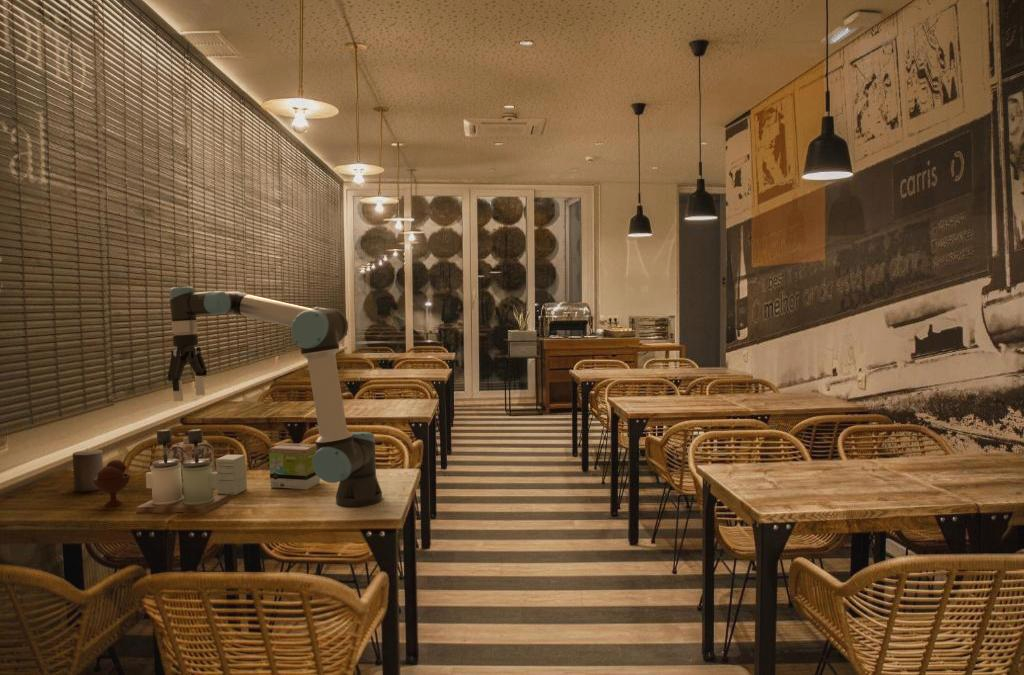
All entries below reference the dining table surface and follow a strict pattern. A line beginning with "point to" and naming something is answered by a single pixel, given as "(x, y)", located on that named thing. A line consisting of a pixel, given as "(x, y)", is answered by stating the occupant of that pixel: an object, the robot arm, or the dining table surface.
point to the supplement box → (231, 474)
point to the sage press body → (199, 484)
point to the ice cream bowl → (112, 480)
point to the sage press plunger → (196, 448)
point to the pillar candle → (86, 469)
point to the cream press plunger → (164, 448)
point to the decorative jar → (191, 453)
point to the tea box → (292, 466)
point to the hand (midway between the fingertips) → (189, 398)
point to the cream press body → (165, 484)
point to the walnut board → (182, 506)
